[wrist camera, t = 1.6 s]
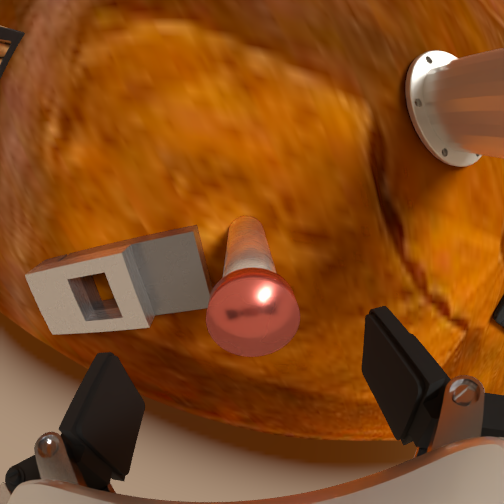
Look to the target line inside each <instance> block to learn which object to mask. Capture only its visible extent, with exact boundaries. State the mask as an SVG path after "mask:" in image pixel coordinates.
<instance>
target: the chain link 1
mask: <svg viewBox="0 0 504 504" xmlns="http://www.w3.org/2000/svg"><path fill="white" fill-rule="evenodd" d="M66 256H67V254H66V255H62V256H58V257H55V258H51V259H47V260H45V261H43V262H42V263H40V264H39V265H38V266H36V267H35V268H34V269H32V270H31V271H29V272H28V273H27V274H25V277H26V279H27V282H28V284H29V287H30V289H31V291H32V294H33V296H34V298H35V300H36V303H37V305H38V307H39V309H40V311H41V313H42V315H43V317H44V319H45V321H46V323H47V325H48V327H49V329H50V331H51V333H52V334H75V333H92V332H106V331H118V330H130V329H140V328H150V326H151V323H152V321H153V319H154V317H155V313H154V311H153V308H152V306H151V303H150V300H149V298H148V295H147V292H146V289H145V286H144V284H143V281H142V278H141V275H140V272H139V269H138V266H137V263H136V260H135V257H134V254H133V250H132V247H131V245H126V246H121V247H117V248H113V249H108V250H104V251H99V252H95V253H91V254H87V255H82V256H78V257H74V258H70V259H66V260H62V259H63V258H65V257H66ZM61 260H62V261H61ZM104 272H105V274H106V277H107V280H108V282H109V285H110V288H111V290H112V293H113V295H114V298H115V300H116V303H117V305H118V307H119V308H110V309H102V310H94V309H93V307H92V305H91V303H90V300H89V298H88V296H87V293H86V291H85V288H84V286H83V283H82V281H81V278H80V277H83V276H88V275H93V274H99V273H104Z"/></svg>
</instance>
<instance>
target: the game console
mask: <svg viewBox="0 0 504 504" xmlns="http://www.w3.org/2000/svg"><path fill="white" fill-rule="evenodd" d="M494 320H495V321H496V322H497V323H499V324H500V325H501V326H502V327H504V297H503V298H502V300H501V302H500V304H499V305H498V307H497V309H496V310H495V312H494Z"/></svg>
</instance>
